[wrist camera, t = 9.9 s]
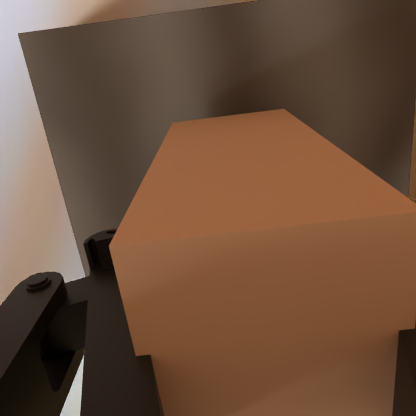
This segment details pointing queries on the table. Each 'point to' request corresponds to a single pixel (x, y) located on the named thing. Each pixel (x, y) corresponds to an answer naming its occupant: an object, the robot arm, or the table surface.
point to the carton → (266, 272)
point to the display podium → (220, 88)
